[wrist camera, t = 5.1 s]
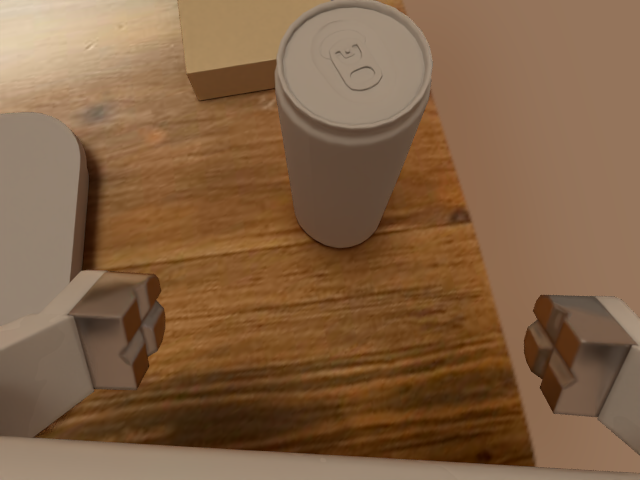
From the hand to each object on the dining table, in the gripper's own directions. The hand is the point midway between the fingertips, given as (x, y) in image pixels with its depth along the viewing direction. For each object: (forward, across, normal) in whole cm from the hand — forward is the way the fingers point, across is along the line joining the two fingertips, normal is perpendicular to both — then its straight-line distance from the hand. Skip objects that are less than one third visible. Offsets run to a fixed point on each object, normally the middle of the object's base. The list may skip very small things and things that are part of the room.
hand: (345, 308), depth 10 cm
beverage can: (+15, 0, +4) cm, 15 cm away
